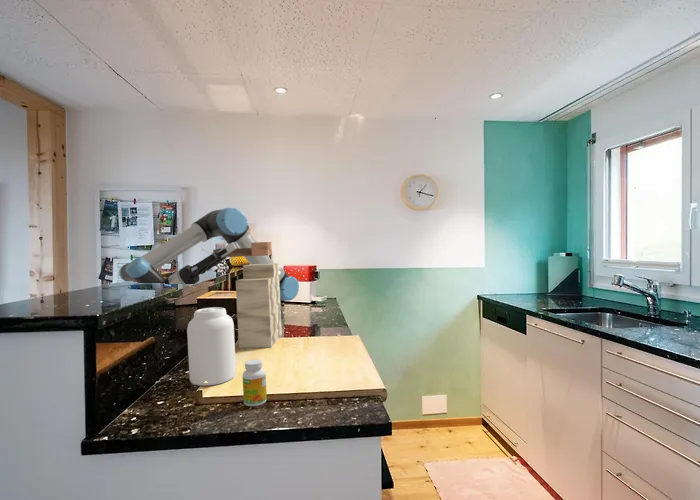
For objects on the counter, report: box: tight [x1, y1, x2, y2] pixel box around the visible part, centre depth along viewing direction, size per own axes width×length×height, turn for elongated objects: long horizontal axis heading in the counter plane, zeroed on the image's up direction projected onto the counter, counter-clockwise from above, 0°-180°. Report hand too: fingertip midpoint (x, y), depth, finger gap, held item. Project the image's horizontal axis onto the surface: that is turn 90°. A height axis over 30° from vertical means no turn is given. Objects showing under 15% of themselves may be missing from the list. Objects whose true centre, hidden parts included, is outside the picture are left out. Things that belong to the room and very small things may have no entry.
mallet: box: [212, 241, 273, 258], centre depth 143 cm, size 6×21×5 cm, turn 88°
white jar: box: [186, 306, 237, 387], centre depth 107 cm, size 12×12×20 cm
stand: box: [235, 262, 283, 349], centre depth 147 cm, size 18×12×30 cm, turn 178°
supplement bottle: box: [242, 358, 268, 407], centre depth 90 cm, size 5×5×10 cm
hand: (236, 245), depth 143 cm, fingers closed on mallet, 3 cm apart
